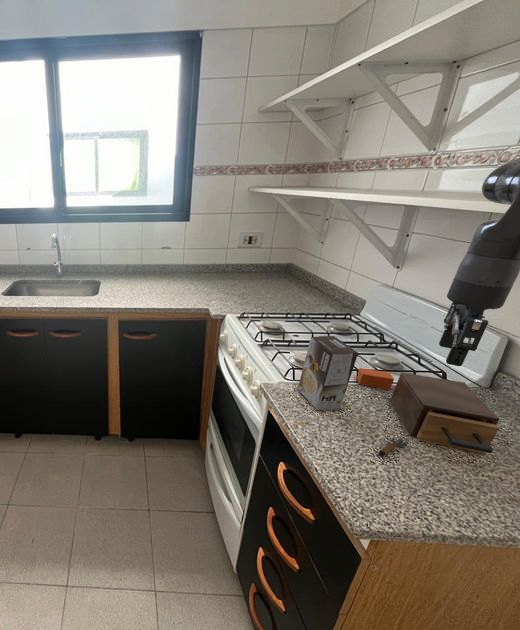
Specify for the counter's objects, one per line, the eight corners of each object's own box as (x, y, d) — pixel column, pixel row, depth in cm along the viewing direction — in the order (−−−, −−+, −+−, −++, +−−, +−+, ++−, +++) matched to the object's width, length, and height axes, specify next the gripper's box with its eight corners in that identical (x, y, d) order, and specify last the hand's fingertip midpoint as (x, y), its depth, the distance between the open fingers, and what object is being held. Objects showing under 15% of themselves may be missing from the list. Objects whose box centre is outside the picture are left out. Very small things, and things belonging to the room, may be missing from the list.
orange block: (385, 383, 95) (389, 372, 94) (390, 389, 92) (394, 379, 91) (355, 377, 98) (359, 367, 96) (359, 384, 95) (362, 373, 94)
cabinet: (481, 451, 73) (499, 419, 69) (410, 436, 77) (424, 404, 73) (450, 411, 84) (464, 382, 81) (389, 400, 88) (401, 372, 85)
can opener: (383, 457, 71) (385, 453, 71) (371, 449, 73) (373, 445, 73) (410, 445, 74) (412, 441, 74) (398, 438, 76) (400, 434, 76)
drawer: (499, 472, 67) (515, 445, 64) (428, 456, 70) (441, 430, 68) (454, 416, 81) (466, 392, 79) (398, 405, 85) (407, 382, 82)
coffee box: (341, 409, 85) (360, 353, 79) (316, 410, 85) (333, 354, 79) (318, 387, 94) (334, 335, 87) (295, 388, 94) (309, 335, 87)
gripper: (527, 293, 56) (483, 377, 62) (501, 272, 67) (466, 346, 73) (463, 285, 60) (429, 365, 67) (448, 266, 71) (420, 337, 77)
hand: (448, 355), depth 70 cm, fingers open, 8 cm apart
